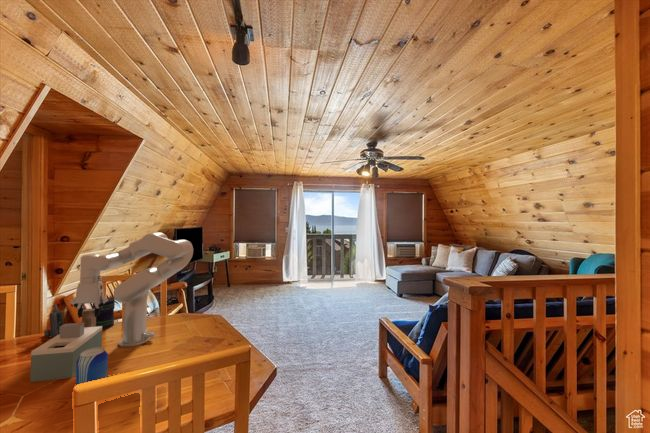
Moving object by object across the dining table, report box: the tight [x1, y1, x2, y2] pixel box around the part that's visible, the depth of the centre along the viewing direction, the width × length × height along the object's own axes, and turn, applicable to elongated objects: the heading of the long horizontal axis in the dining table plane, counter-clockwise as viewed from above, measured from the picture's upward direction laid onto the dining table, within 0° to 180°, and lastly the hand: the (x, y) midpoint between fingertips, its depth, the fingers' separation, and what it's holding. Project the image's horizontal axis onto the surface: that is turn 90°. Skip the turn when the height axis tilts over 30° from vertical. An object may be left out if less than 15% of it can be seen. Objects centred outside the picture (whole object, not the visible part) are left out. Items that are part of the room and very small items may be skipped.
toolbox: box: [29, 330, 103, 383], centre depth 116 cm, size 13×22×10 cm, turn 15°
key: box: [81, 308, 96, 327], centre depth 137 cm, size 4×4×16 cm
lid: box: [30, 322, 103, 356], centre depth 116 cm, size 13×22×6 cm, turn 15°
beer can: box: [75, 347, 109, 386], centre depth 96 cm, size 8×8×16 cm
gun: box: [43, 304, 65, 339], centre depth 141 cm, size 3×17×15 cm
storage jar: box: [91, 297, 116, 331], centre depth 156 cm, size 10×10×15 cm
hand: (89, 316), depth 137 cm, fingers open, 6 cm apart
